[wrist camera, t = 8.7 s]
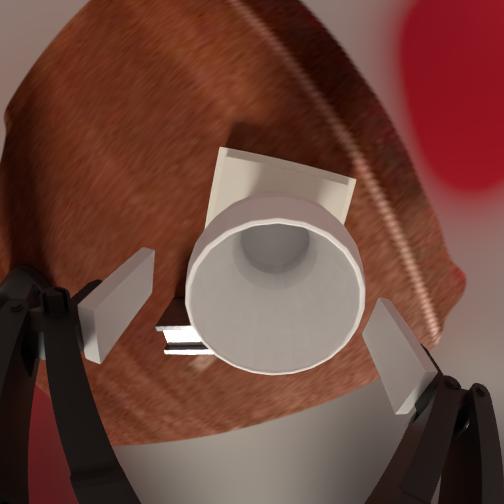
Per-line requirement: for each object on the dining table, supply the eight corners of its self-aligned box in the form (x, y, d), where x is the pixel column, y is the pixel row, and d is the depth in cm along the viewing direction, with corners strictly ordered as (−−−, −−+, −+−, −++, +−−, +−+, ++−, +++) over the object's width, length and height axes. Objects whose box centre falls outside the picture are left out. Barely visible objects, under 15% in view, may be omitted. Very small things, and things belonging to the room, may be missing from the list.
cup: (255, 157, 26) (234, 161, 12) (347, 213, 27) (413, 275, 13) (204, 247, 30) (148, 330, 15) (291, 295, 31) (300, 401, 17)
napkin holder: (181, 322, 38) (165, 353, 31) (173, 297, 37) (155, 326, 30) (252, 318, 37) (248, 352, 30) (248, 291, 35) (242, 322, 29)
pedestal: (204, 263, 35) (195, 277, 31) (225, 147, 30) (218, 146, 26) (315, 288, 35) (320, 304, 31) (348, 176, 30) (358, 180, 26)
